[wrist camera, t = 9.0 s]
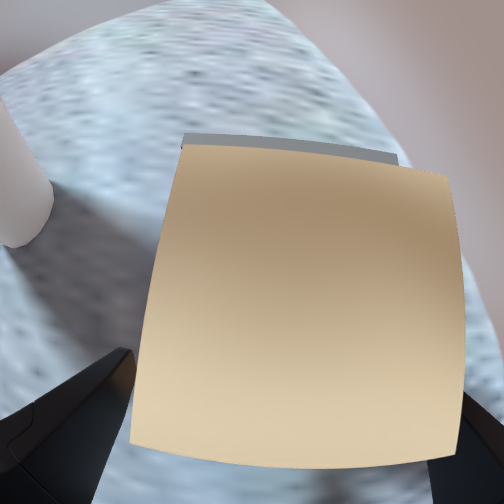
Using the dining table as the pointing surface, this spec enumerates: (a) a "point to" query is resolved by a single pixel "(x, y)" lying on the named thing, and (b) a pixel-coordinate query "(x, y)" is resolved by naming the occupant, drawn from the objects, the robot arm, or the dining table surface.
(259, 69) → the dining table surface
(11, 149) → the foam cup
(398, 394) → the beech block
